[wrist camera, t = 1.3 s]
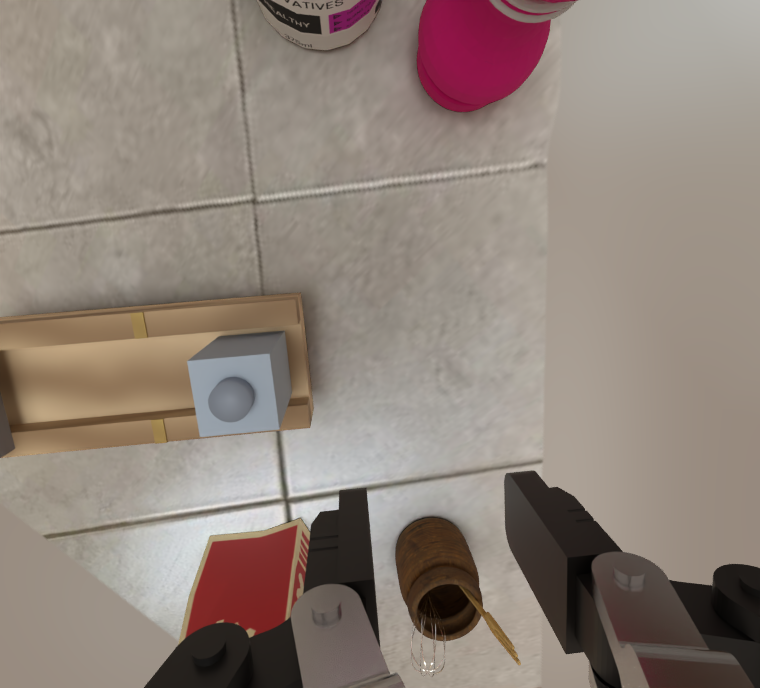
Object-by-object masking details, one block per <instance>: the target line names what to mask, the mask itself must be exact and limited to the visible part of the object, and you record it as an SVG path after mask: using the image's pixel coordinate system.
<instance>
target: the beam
mask: <svg viewBox="0 0 760 688" xmlns="http://www.w3.org/2000/svg"><path fill="white" fill-rule="evenodd" d="M274 331H285V337H286V345H287V354H288V362H289V370H290V378H291V387H292V395H291V397H290V400H289V403H288V406H287V409H286V412H285V415H284V418H283V421H282V424H281V427H280V429H279V430H270V431H259V432H249V433H239V434H228V435H218V436H208V437H200V434H199V429H198V423H197V417H196V411H195V405H194V399H193V393H192V388H191V382H190V376H189V370H188V364H187V361H188V360H189V359H190V358H192V357H193V356H194V355H195V354H197V353H198V352H199V351H200V350H202V349H203V348H204V347H206V346H207V345H208V344H209V343H211V342H212V341H213V340H215V339H216V338H217V337H218V336H228V335H239V334H251V333H262V332H274ZM313 409H314V406H313V397H312V388H311V379H310V370H309V361H308V352H307V343H306V334H305V326H304V317H303V308H302V299H301V293H289V294H277V295H265V296H253V297H241V298H229V299H217V300H205V301H192V302H180V303H168V304H156V305H144V306H132V307H120V308H108V309H96V310H84V311H71V312H59V313H47V314H35V315H23V316H11V317H0V458H5V457H15V456H25V455H35V454H46V453H56V452H66V451H77V450H87V449H97V448H107V447H118V446H128V445H138V444H148V443H155V444H156V443H166V442H169V441H179V440H189V439H200V438H210V437H220V436H231V435H241V434H251V433H261V432H272V431H282V430H292V429H302V428H310V426H311V420H312V415H313Z"/></svg>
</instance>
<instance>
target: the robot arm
mask: <svg viewBox="0 0 760 688" xmlns="http://www.w3.org/2000/svg"><path fill="white" fill-rule="evenodd" d="M504 489H505V529H506V535H507V540H508V544H509V547H510V549H511V551H512V553H513V555H514V557H515V559H516V561H517V563H518V564H519V566H520V568H521V570H522V572H523V574H524V576H525V578H526V580H527V581H528V583H529V585H530V587H531V589H532V591H533V593H534V595H535V597H536V598H537V600H538V602H539V604H540V606H541V608H542V610H543V612H544V614H545V616H546V617H547V619H548V621H549V623H550V625H551V627H552V629H553V631H554V633H555V634H556V636H557V638H558V640H559V642H560V644H561V646H562V648H563V650H564V651H565V653H566V654H572V653H580V652H584V653H585V654H586V656H587V658H588V659H589V683H590V686H591V688H760V568H758V567H754V566H749V565H743V564H729V565H723V566H721V567H719V568H717V569H716V570H715V572H714V575H713V584H712V586H711V585H702V584H693V583H685V582H677V581H672V580H669V579H668V578H667V576H666V574H665V573H664V572H663V571H662V570H661V569H660V568H659V567H658V566H656V565H655V564H654V563H653V562H651V561H649V560H647V559H645V558H643V557H641V556H638V555H635V554H631V553H626V552H623V551H622V550H621V549H620V548H619V547H618V546H617V545H616V543H615V542H614V541H613V540H612V539H611V538H610V537H609V536H608V534H607V533H606V532H605V531H604V530H603V529H602V528H601V526H600V525H599V524H598V523H597V522H596V521H594V519H593V517H592V516H591V515H590V514H589V513H588V512H587V511H585V508H584V507H583V506H582V505H581V504H580V503H579V502H578V500H577V499H576V498H575V497H574V496H572V495H571V494H569V493H567V492H565V491H564V490H562V489H560V488H558V487H553V488H549V487H548V486H547V485H546V484H545V482H544V481H543V480H542V479H541V478H540V476H539V475H538V474H537V473H536V472H535V471H523V472H514V473H507V474H506V475H505V480H504ZM144 688H405V686H404V683H403V681H402V679H401V677H400V676H399V674H398V673H393V674H390V672H389V670H388V667H387V665H386V662H385V660H384V657H383V655H382V652H381V650H380V640H379V628H378V616H377V604H376V592H375V581H374V569H373V557H372V546H371V534H370V523H369V512H368V501H367V490H366V488H357V489H348V490H340V491H339V510H333V511H324V512H320V513H319V515H318V516H317V517H316V519H315V520H314V521H313V523H312V524H311V531H310V541H309V547H308V556H307V564H306V573H305V581H304V589H303V595H302V596H301V597H299V599H298V600H297V601H296V602H295V604H294V606H293V608H292V611H291V617H290V618H288V619H287V620H286V621H285V622H283V623H282V624H280V625H278V626H277V627H275V628H272V629H270V630H268V631H265V632H263V633H260V634H257V635H255V636H252V637H250V638H249V636H248V633H247V632H246V630H245V629H244V628H243V627H241V626H239V625H237V624H234V623H228V622H221V623H215V624H211V625H208V626H205V627H203V628H200V629H198V630H197V631H195V632H193V633H192V634H190V635H189V636H187V637H186V638H185V639H184V640H183V641H182V642H181V643H180V644H179V645H178V646H177V647H176V649H175V650H174V651H173V652H172V654H171V655H170V656H169V657H168V659H167V660H166V661H165V662H164V663H163V665H162V666H161V667H160V668H159V670H158V671H157V672H156V673H155V675H154V676H153V677H152V678H151V680H150V681H149V682H148V683H147V684H146V686H145V687H144Z"/></svg>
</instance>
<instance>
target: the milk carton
mask: <svg viewBox="0 0 760 688" xmlns="http://www.w3.org/2000/svg"><path fill="white" fill-rule="evenodd" d="M309 541H310V532H309V530H308V529H307V527H306V526H305V524H304V523H303V521H302V520H301V518H300V519H297V520H294V521H291V522H288V523H285V524H282V525H280V526H277V527H274V528H271V529H268V530H265V531H256V532H246V533H235V534H224V535H214V536H210V537H209V540H208V543H207V546H206V549H205V552H204V554H203V557H202V560H201V563H200V566H199V569H198V572H197V575H196V578H195V580H194V583H193V586H192V589H191V592H190V595H189V598H188V603H187V608H186V612H185V617H184V621H183V626H182V630H181V635H180V639H179V644H180V643H181V642H182V641H183V640H184V639H185V638H186V637H187V636H189V635H190V634H192V633H193V632H195V631H197V630H198V629H200V628H203V627H205V626H208V625H211V624H215V623H221V622H228V623H234V624H237V625H239V626H241V627H243V628H244V629H245V630H246V632H247V633H248V636H249V638H250V637H252V636H255V635H257V634H260V633H263V632H265V631H268V630H270V629H272V628H275V627H277V626H278V625H280V624H282V623H283V622H285V621H286V620H287V619H288V618H290V617H291V611H292V608H293V606H294V604H295V602H296V601H297V600H298V599H299V597H301V596H302V595H303V589H304V581H305V573H306V564H307V556H308V547H309ZM179 644H178V645H179Z"/></svg>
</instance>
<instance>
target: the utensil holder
mask: <svg viewBox="0 0 760 688" xmlns="http://www.w3.org/2000/svg"><path fill="white" fill-rule="evenodd" d="M395 557H396V566H397V573H398V579H399V585H400V590H401V594H402V597H403V599H404V601H405V603H406V605H407V607H408V611H409V615H410V617H411V619H412V622H413V625H414V626H415V628H416V629H417V630H418V631H419V632H420V633H421V646H422V636H423V635H424V636H426V637H428V638H430V639H433V644H434V640H435V649H436V640H438V641H443V642H444V641H445V644H444V658H443V660H444V664H445V649H446V641H450V640H454V639H458V638H460V637H462V636H464V635H466V634H467V633H469V632H470V631H471V630H472V629H473V628H474V627H475V626H476V625H477V623H478V622H479V620H480V618H481V615H482V617H483V618H484V619H485V621H486V622H487V624H488V626H489V628H490V630H491V631H492V633H493V634H494V636H495V637H496V638H497V639H498V640H499V642H500V643H501V644H502V645H503V647H504V648H505V649H506V650H507V651H508V653H509V654H510V655H511V656H512V658H513V659H514V660H515V661H516V662H517V664H518V665H521V663H520V661H519V659H518V658H517V657H518V655H517V653H516V652H515V650H514V646H513V644H512V643H511V641H510V640H509V639H508V637H507V636H506V635H505V633H504V632H503V631H502V629H501V628H500V626H499V625H498V624H497V622H496V621H495V620H494V618H493V617H492V616H491V614H490V613H489V612H487V613H486V612H485V610H484V609H483V602H482V595H481V591H480V588H479V576H478V572H477V568H476V565H475V563H474V560H473V557H472V555H471V552H470V550H469V547H468V545H467V543H466V540H465V538H464V537H463V535H462V533H461V532H460V531H459V529H458V528H457V527H456V526H455V525H453V524H452V523H450V522H448V521H446V520H444V519H440V518H425V519H421V520H418V521H416V522H414V523H412V524H411V525H409V526H408V527H407V528H406V529H405V530H404V531H403V532H402V534H401V535H400V537H399V539H398V542H397V545H396V553H395ZM412 631H413V627H412ZM414 631H415V629H414ZM413 634H414V632H413ZM412 638H413V635H412V633H411V663H412V655H413V653H412ZM422 654H423V649H422ZM413 658H414V656H413ZM433 659H434V669H433V670H435V669H437V668H438V667H439V666H440V665H441V663H442V662H443V660H442V662H441V663H440V665H439V666H438V667H437V668H435V650H434V656H433ZM414 660H415V658H414ZM423 660H424V656H423ZM415 662H416V660H415ZM416 663H417V662H416ZM432 663H433V660H432ZM432 663H431V665H432ZM424 664H425V661H424ZM417 665H418V663H417ZM412 666H413V664H412ZM418 666H419V665H418ZM413 667H414V666H413ZM419 667H420V671H418V670H416V669H415V668H414V669H415V670H416V671H418V672H421V669H423V668H421V649H420V666H419ZM425 667H426V665H425ZM430 668H431V666H430ZM430 668H429V670H430ZM443 668H444V666H443ZM443 668H442V670H443ZM423 670H424V669H423ZM426 670H427V668H426ZM426 670H424V671H426ZM429 670H427V671H426V672H421V675H422V673H426V674H427V673H428V674H429V673H431V671H433V670H431V671H429ZM442 670H441V671H442ZM441 671H440V672H441ZM440 672H438V673H440ZM438 673H431V674H433V676H434V674H438ZM426 674H425V675H426ZM425 675H422V676H425ZM429 676H430V674H429ZM433 676H430V677H433Z"/></svg>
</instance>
